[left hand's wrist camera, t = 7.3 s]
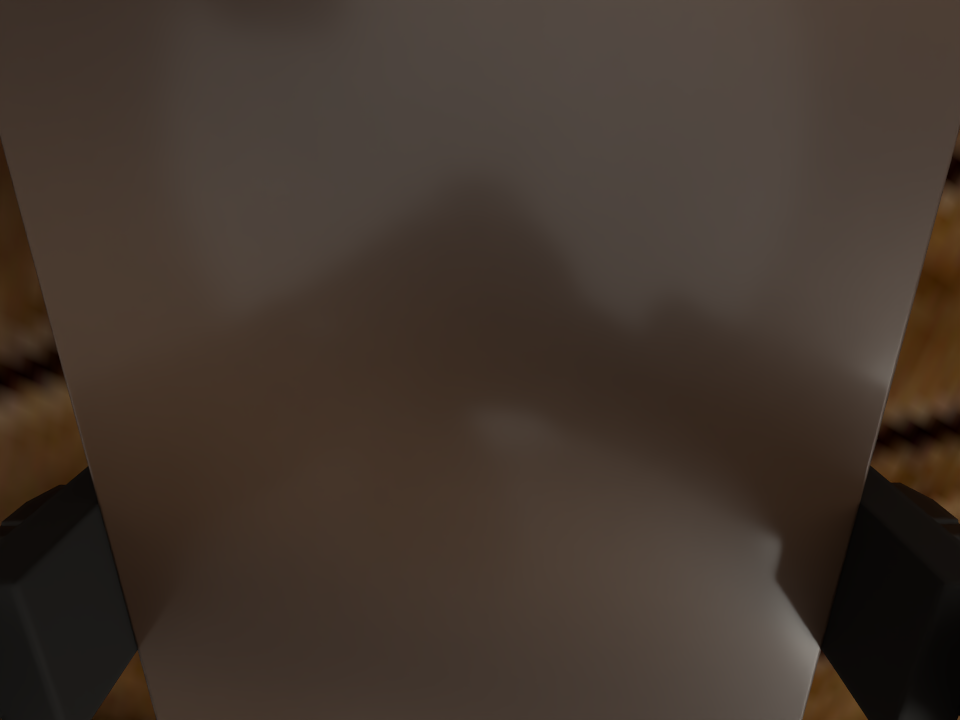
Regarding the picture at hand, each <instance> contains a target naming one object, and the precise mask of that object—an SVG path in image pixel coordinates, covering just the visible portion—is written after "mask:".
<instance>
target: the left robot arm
mask: <svg viewBox="0 0 960 720" xmlns="http://www.w3.org/2000/svg"><path fill="white" fill-rule="evenodd" d="M821 649H822V651H823V652H824V654H825V655H826V657H827V658H828V660H829V661H830V663H831V664H832V666H833V667H834V669H835V670H836V672H837V673H838V675H839V676H840V678H841V679H842V681H843V682H844V684H845V685H846V687H847V688H848V690H849V691H850V693H851V694H852V696H853V697H854V699H855V700H856V702H857V703H858V705H859V706H860V708H861V709H862V711H863V712H864V714H865V715H866V717H867V718H868V720H957V719H958V716H960V524H959V523H958V519H957V518H955V517H954V516H953V515H952V514H950V513H949V512H948V511H947V510H945V509H944V508H943V507H942V506H940V505H939V504H938V503H937V502H935V501H934V500H933V499H931V498H929V497H927V496H925V495H923V494H921V493H919V492H917V491H915V490H913V489H911V488H909V487H907V486H905V485H903V484H902V483H890V482H889V481H888V480H887V479H886V478H884V477H883V476H882V475H881V474H880V473H878V472H877V471H876V470H875V469H874V468H872V467H871V466H870V467H869V470H868V474H867V478H866V482H865V486H864V489H863V493H862V497H861V501H860V504H859V508H858V512H857V516H856V519H855V523H854V527H853V531H852V534H851V538H850V542H849V546H848V549H847V553H846V557H845V561H844V564H843V568H842V572H841V576H840V579H839V583H838V587H837V591H836V595H835V598H834V602H833V606H832V610H831V613H830V617H829V621H828V625H827V628H826V632H825V636H824V640H823V643H822V647H821ZM137 650H138V649H137V645H136V641H135V638H134V634H133V630H132V626H131V623H130V619H129V615H128V612H127V608H126V604H125V600H124V597H123V593H122V589H121V585H120V582H119V578H118V574H117V571H116V567H115V563H114V559H113V556H112V552H111V548H110V544H109V541H108V537H107V533H106V530H105V526H104V522H103V518H102V515H101V511H100V507H99V503H98V500H97V496H96V492H95V489H94V485H93V481H92V477H91V474H90V470H89V466H88V467H87V468H86V469H84V470H83V471H82V472H81V473H80V474H78V475H77V476H76V477H75V478H74V479H72V480H71V481H70V482H69V483H68V484H67V485H58V486H57V487H55V488H53V489H51V490H49V491H47V492H45V493H43V494H41V495H39V496H37V497H35V498H33V499H31V500H30V501H28V502H26V503H25V504H23V505H22V506H21V507H20V508H19V509H17V510H16V511H15V512H14V513H12V514H11V515H10V516H9V517H7V518H6V519H5V520H4V521H2V524H1V526H0V718H1V719H2V720H91V719H92V717H93V716H94V714H95V713H96V711H97V710H98V708H99V707H100V705H101V704H102V702H103V701H104V699H105V698H106V696H107V695H108V693H109V692H110V690H111V689H112V687H113V686H114V684H115V683H116V681H117V680H118V678H119V677H120V675H121V674H122V672H123V671H124V669H125V668H126V666H127V665H128V663H129V662H130V660H131V659H132V657H133V656H134V654H135V653H136V651H137Z"/></svg>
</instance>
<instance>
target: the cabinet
mask: <svg viewBox="0 0 960 720" xmlns="http://www.w3.org/2000/svg"><path fill="white" fill-rule="evenodd" d="M959 128H960V0H0V138H1V142H2V146H3V149H4V153H5V157H6V161H7V164H8V168H9V172H10V175H11V179H12V183H13V187H14V190H15V194H16V198H17V202H18V205H19V209H20V213H21V216H22V220H23V224H24V228H25V231H26V235H27V239H28V243H29V246H30V250H31V254H32V257H33V261H34V265H35V269H36V272H37V276H38V280H39V284H40V287H41V291H42V295H43V298H44V302H45V306H46V310H47V313H48V317H49V321H50V325H51V328H52V332H53V336H54V339H55V343H56V347H57V351H58V354H59V358H60V362H61V366H62V369H63V373H64V377H65V380H66V384H67V388H68V392H69V395H70V399H71V403H72V407H73V410H74V414H75V418H76V421H77V425H78V429H79V433H80V436H81V440H82V444H83V448H84V451H85V455H86V459H87V462H88V466H89V470H90V474H91V477H92V481H93V485H94V489H95V492H96V496H97V500H98V503H99V507H100V511H101V515H102V518H103V522H104V526H105V530H106V533H107V537H108V541H109V544H110V548H111V552H112V556H113V559H114V563H115V567H116V571H117V574H118V578H119V582H120V585H121V589H122V593H123V597H124V600H125V604H126V608H127V612H128V615H129V619H130V623H131V626H132V630H133V634H134V638H135V641H136V645H137V649H138V653H139V656H140V660H141V664H142V667H143V671H144V675H145V679H146V682H147V686H148V690H149V694H150V697H151V701H152V705H153V708H154V712H155V716H156V720H802V719H803V715H804V711H805V707H806V704H807V700H808V696H809V692H810V689H811V685H812V681H813V677H814V673H815V670H816V666H817V662H818V658H819V655H820V651H821V647H822V643H823V640H824V636H825V632H826V628H827V625H828V621H829V617H830V613H831V610H832V606H833V602H834V598H835V595H836V591H837V587H838V583H839V579H840V576H841V572H842V568H843V564H844V561H845V557H846V553H847V549H848V546H849V542H850V538H851V534H852V531H853V527H854V523H855V519H856V516H857V512H858V508H859V504H860V501H861V497H862V493H863V489H864V486H865V482H866V478H867V474H868V470H869V467H870V463H871V459H872V455H873V452H874V448H875V444H876V440H877V437H878V433H879V429H880V425H881V422H882V418H883V414H884V410H885V407H886V403H887V399H888V395H889V392H890V388H891V384H892V380H893V376H894V373H895V369H896V365H897V361H898V358H899V354H900V350H901V346H902V343H903V339H904V335H905V331H906V328H907V324H908V320H909V316H910V313H911V309H912V305H913V301H914V298H915V294H916V290H917V286H918V283H919V279H920V275H921V271H922V267H923V264H924V260H925V256H926V252H927V249H928V245H929V241H930V237H931V234H932V230H933V226H934V222H935V219H936V215H937V211H938V207H939V204H940V200H941V196H942V192H943V189H944V185H945V181H946V177H947V173H948V170H949V166H950V162H951V158H952V155H953V151H954V147H955V143H956V140H957V136H958V132H959Z"/></svg>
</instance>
